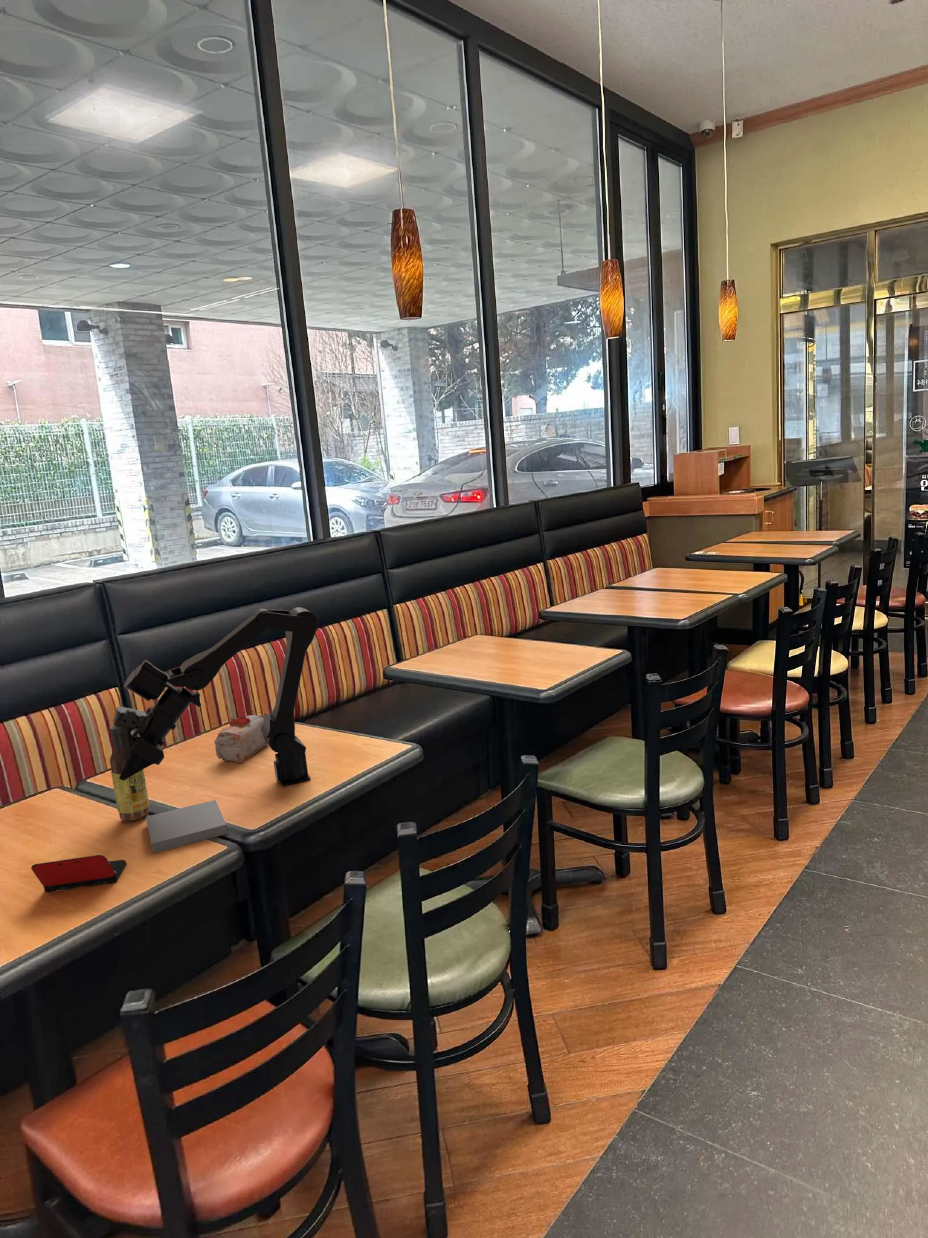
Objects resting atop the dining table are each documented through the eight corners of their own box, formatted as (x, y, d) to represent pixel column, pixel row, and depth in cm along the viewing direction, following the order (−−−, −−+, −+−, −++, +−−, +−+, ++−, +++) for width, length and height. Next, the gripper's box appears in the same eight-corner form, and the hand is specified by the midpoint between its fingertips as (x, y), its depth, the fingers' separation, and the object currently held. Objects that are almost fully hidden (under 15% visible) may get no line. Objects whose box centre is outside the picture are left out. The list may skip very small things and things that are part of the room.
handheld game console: (128, 864, 155) (121, 827, 154) (111, 894, 145) (104, 855, 143) (59, 873, 154) (51, 836, 153) (37, 904, 144) (28, 865, 142)
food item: (243, 766, 200) (237, 727, 198) (214, 764, 202) (208, 726, 200) (272, 745, 213) (267, 708, 210) (245, 744, 215) (240, 708, 213)
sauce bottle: (140, 822, 171) (122, 731, 167) (113, 822, 173) (95, 732, 169) (157, 808, 178) (141, 720, 173) (131, 808, 179) (114, 721, 175)
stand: (216, 808, 176) (215, 799, 176) (227, 833, 164) (226, 824, 163) (147, 825, 171) (145, 816, 170) (153, 853, 158) (151, 843, 158)
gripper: (130, 682, 180) (84, 742, 178) (135, 703, 163) (85, 769, 161) (174, 708, 184) (130, 767, 182) (184, 731, 168) (136, 796, 166)
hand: (120, 774), depth 173 cm, fingers closed on sauce bottle, 6 cm apart
